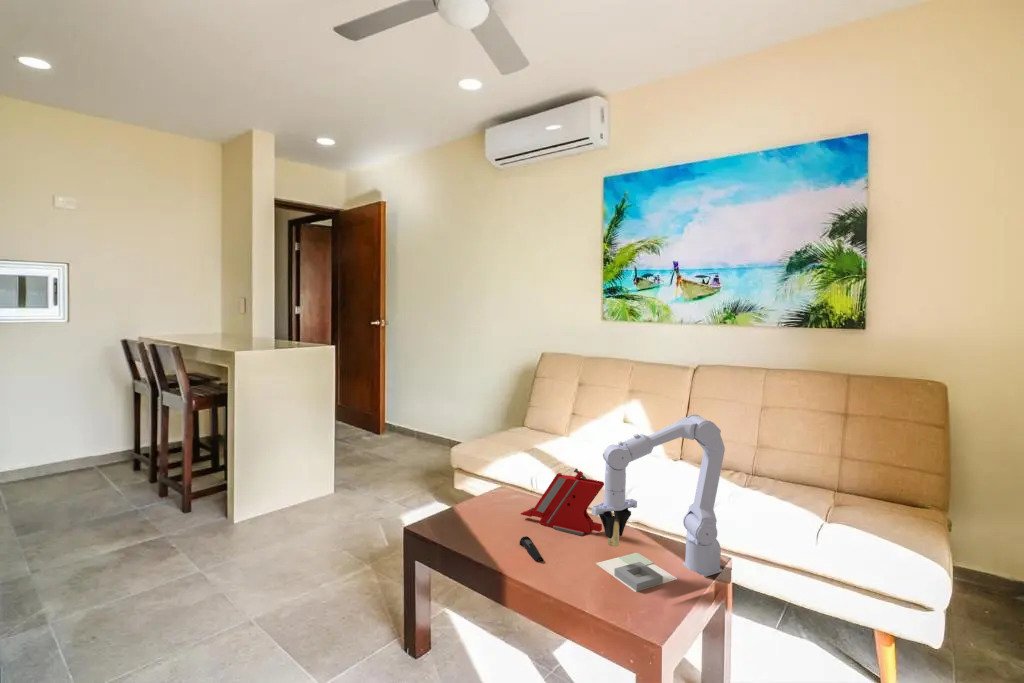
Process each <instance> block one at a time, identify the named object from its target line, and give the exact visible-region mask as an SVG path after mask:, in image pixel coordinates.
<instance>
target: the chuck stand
mask: <svg viewBox="0 0 1024 683" xmlns="http://www.w3.org/2000/svg"><path fill="white" fill-rule="evenodd" d="M595 564H596V566H598V567H600V568H601V569H603V570H604V571H605V572H607V573H608V574H609V575H611V576H612V577H614V578H615V579H616V580H618V581H619V582H620V583H622V584H623V585H625V586H626V587H628V589H630V590H631V591H633V592H634V593H635V592H640V591H643V590H647V589H650V588H653V587H656V586H659V585H662V584H666V583H669V582H672V581H675V580H678V578H677V577H676V576H674V575H672V574H671V573H669V572H668V571H666V570H664V569H663V568H661V567H659V566H658V565H657V564H655V563H654V562H653V561H652V560H650V559H648V558H647V557H645V556H643V555H642V554H640V553H638V552H634V553H630V554H626V555H625V554H624V555H622V556H618V557H615V558H614V557H613V558H611V559H607V560H603V561H599V562H595Z"/></svg>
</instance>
